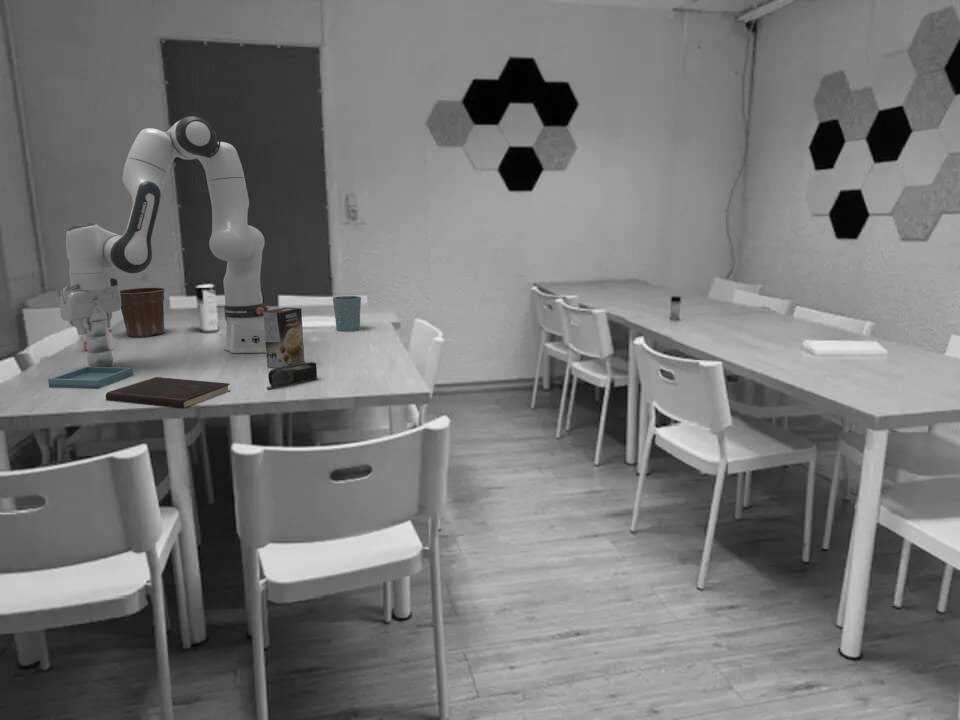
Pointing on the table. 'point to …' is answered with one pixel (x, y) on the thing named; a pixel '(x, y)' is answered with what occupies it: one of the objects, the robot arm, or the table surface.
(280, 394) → the table surface
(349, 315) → the blue cup
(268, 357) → the cookie box
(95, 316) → the plastic bottle
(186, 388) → the hardcover book
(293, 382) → the black long block
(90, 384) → the tray
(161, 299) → the plant pot
